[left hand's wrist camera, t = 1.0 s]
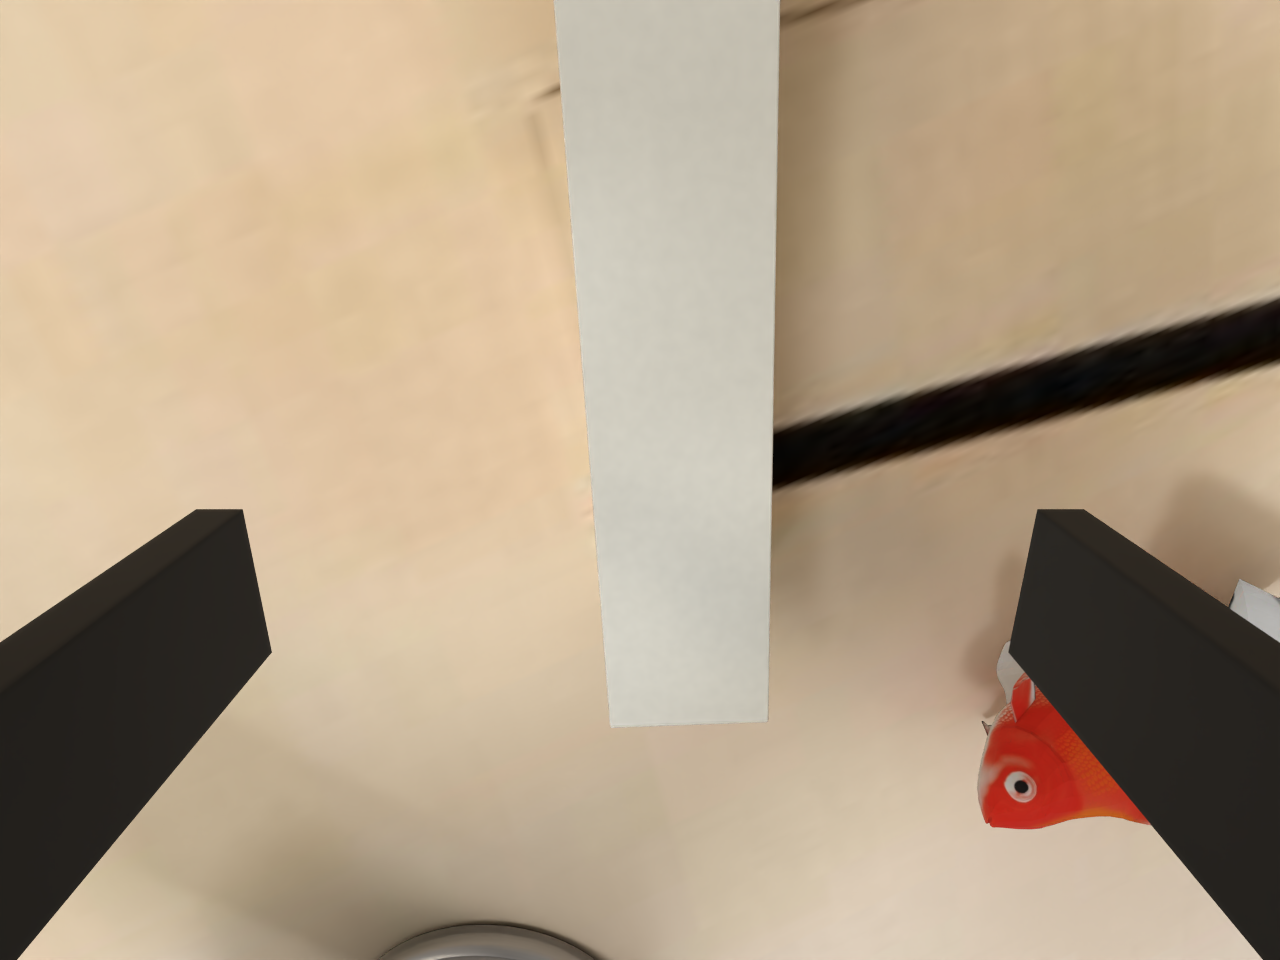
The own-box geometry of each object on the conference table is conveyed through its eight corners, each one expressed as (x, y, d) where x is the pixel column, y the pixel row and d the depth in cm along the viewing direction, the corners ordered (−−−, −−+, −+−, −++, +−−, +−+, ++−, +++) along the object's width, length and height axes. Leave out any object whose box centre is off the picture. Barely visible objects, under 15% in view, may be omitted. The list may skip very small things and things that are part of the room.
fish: (938, 585, 25) (1236, 848, 18) (1223, 448, 30) (1540, 612, 23) (884, 752, 32) (1085, 991, 25) (1124, 618, 37) (1346, 783, 30)
